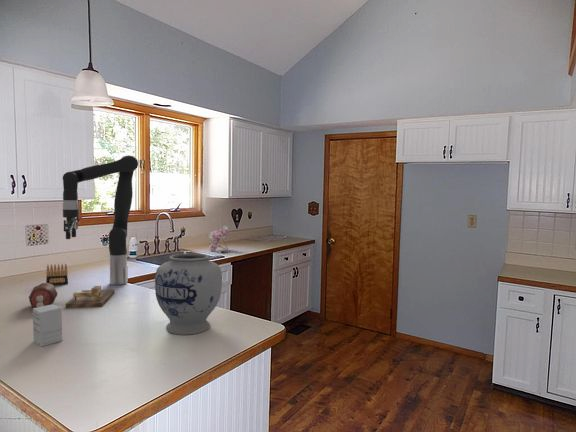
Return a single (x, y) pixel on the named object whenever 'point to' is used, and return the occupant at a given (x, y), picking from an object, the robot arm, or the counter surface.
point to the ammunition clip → (57, 275)
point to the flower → (217, 237)
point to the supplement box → (47, 324)
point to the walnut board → (87, 300)
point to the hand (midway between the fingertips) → (71, 238)
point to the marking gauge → (90, 294)
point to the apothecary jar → (188, 292)
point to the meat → (43, 295)
